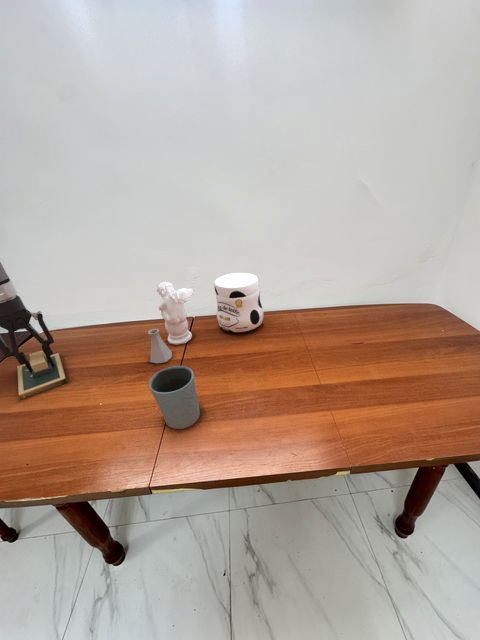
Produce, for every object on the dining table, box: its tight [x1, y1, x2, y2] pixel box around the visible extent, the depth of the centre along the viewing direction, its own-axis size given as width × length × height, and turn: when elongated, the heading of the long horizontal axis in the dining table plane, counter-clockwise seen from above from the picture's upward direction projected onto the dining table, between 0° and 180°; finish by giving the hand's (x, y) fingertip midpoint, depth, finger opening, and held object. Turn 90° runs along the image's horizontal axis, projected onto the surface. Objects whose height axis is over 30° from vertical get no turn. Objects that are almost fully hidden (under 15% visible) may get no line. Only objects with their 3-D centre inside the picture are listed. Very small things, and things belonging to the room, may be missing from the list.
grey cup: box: [148, 365, 201, 430], centre depth 70 cm, size 10×10×12 cm
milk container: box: [213, 272, 264, 334], centre depth 107 cm, size 17×17×18 cm
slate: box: [16, 352, 68, 400], centre depth 91 cm, size 18×12×2 cm, turn 37°
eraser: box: [28, 349, 53, 378], centre depth 92 cm, size 9×5×4 cm, turn 37°
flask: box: [147, 328, 173, 364], centre depth 94 cm, size 7×7×10 cm
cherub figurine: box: [156, 281, 195, 346], centre depth 100 cm, size 12×12×22 cm
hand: (42, 367), depth 93 cm, fingers closed on eraser, 5 cm apart
